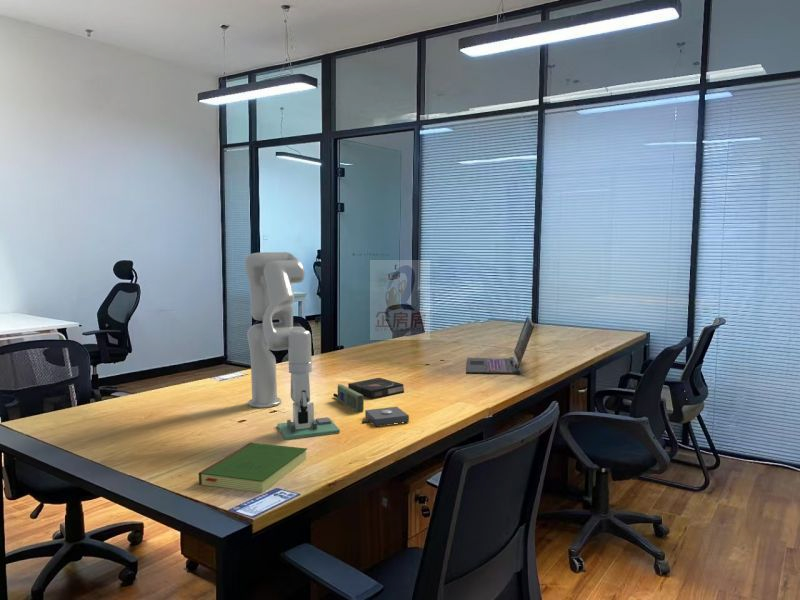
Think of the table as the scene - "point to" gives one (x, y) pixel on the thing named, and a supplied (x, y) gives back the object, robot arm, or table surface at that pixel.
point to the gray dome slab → (386, 416)
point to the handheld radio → (350, 398)
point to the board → (308, 429)
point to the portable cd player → (376, 388)
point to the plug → (310, 416)
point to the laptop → (503, 363)
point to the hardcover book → (253, 467)
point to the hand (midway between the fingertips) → (301, 420)
